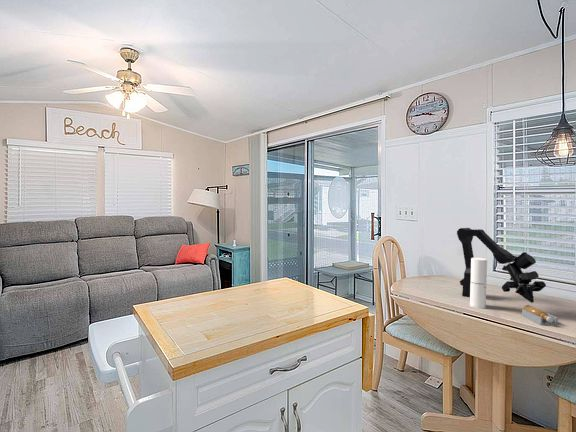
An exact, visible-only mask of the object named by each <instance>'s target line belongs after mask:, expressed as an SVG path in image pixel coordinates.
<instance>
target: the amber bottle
mask: <svg viewBox="0 0 576 432" xmlns="http://www.w3.org/2000/svg"><path fill="white" fill-rule="evenodd" d="M522 309H524V310H526V311H528V312H531V313H533V314H535V315H537V316H540V317H542V318H543V319H542V321H548V322H550V323H551V322H553V318H552V317H550V316H548V315H547V313H548V312H546V311H544V310H541V309H539V308H537V307H534V306H532V305H530V304H527V305H524V306H523V308H522Z"/></svg>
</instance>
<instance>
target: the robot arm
mask: <svg viewBox="0 0 576 432" xmlns="http://www.w3.org/2000/svg"><path fill="white" fill-rule="evenodd" d="M456 236H457V238H458V240H459V242H460V243H461V247H462V253H463V259H464V265H465V269H464V272H463V278H462V279H461V280H459V285H460V286H462V293H461V296H462V297H469V298H470V283H471V258H475V257H474V250H473V245H472V243H473V239H474V237H476V238H477V239H478V240H479V241H480V242H481V243H482V244H483V245H484V246H485V247H486V248H487V249H488V250H490V252H491V253H492V255H493V258H494V260H496V262H497V263H498V264H502V265H503V266H502V268H501V270H502V271H504V272H505V271H506V272H508V275H509V276H510V278H509V281H508V280H507V281H506V282H505V283H504V284H502V285H501V289H502V291H503V292H504V293H508V292H509V293H510V291H511V289H515V290H516V291H515V292H514V293H515V294H517V295H519V296H521V297H523V298H524V299H525V300H527V301H528V302H530V303H531V304H533V303H534V301H535V300H534V292H541V291H542V290H543V289H544V288H546V287H547V285H546V283H545V281H542V280H539V281H538V280H537V279H538V278H539V273H538V272H537V271H536V270H533V271H530V272H529V271H528V272H524V271H523V270H527V269H528V268H530V267H532V266H533V265H534V264H536V263H537V261H536V259H535V258H534V257H533V256H532V255H530V254H529V253H527V252H526V251H524V252H522V253H521V254H520V255H517V256H516V255H513V253H511V252H510V251H508V250H507V249H506V248H503V247H501V246H500V245H499V244H498V243H496V241H494V239H493V238H491V237H490V236H489V235H488V234H487V233H486V231H485V230H483V229H479V228H478V229H472V228H471V227H461V228H458V230H457V231H456ZM522 269H523V270H522ZM533 280H536V281H534V282H533V283H532V281H533Z"/></svg>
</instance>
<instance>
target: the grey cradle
mask: <svg viewBox="0 0 576 432" xmlns="http://www.w3.org/2000/svg"><path fill="white" fill-rule="evenodd" d="M521 310H522V312H521V317H523V318H525V319H528V320H529V321H531V322H533V323H535V324H538V325H540V326H553V325H554V326H555V325H556V326H557V325H558V322H559V321H558V320H559V318H558V317H557V316H554V315H552V314H550V313H548V312H546V313H547V315H548V316H550V317H552V318H553V322H551V323H550V322H548V321H542V319H543V318H542V317H540V316H537V315H535V314H533V313H531V312H528V311H526V310H524V309H523V308H522V309H521ZM558 326H559V325H558Z"/></svg>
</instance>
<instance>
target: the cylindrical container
mask: <svg viewBox="0 0 576 432" xmlns="http://www.w3.org/2000/svg"><path fill="white" fill-rule="evenodd" d="M487 272H488V259H487V258H483V257H474V258H471V283H470V297H469V307H471V308H476V309H486V305H487Z"/></svg>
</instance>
